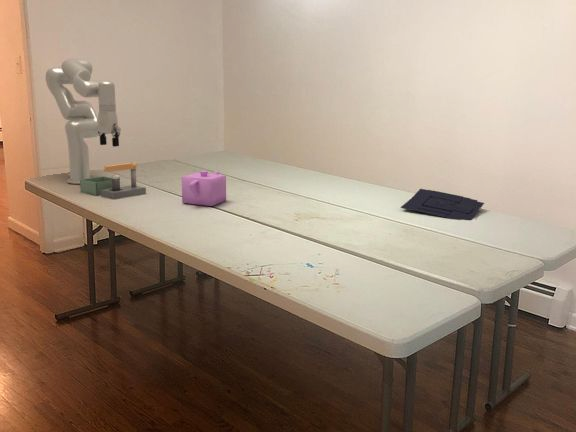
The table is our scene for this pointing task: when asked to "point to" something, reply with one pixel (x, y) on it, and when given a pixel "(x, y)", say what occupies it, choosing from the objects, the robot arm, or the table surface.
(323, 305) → the table surface
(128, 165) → the keeper arm
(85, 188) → the bin
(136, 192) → the grey post stand
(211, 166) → the table surface
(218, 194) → the teapot
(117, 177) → the plug
